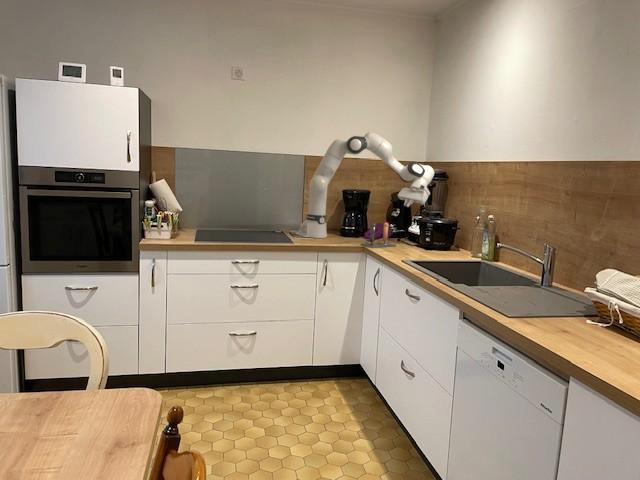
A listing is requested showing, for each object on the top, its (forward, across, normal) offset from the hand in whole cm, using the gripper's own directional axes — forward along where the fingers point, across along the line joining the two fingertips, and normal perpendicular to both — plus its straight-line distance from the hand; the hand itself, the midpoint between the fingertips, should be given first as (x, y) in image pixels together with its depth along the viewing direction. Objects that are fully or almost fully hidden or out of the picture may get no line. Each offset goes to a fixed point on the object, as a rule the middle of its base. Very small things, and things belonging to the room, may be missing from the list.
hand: (406, 206), depth 291 cm
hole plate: (+32, +2, -3) cm, 32 cm away
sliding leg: (+28, +1, -1) cm, 28 cm away
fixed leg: (+35, +1, -9) cm, 36 cm away
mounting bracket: (+20, -22, +16) cm, 34 cm away
